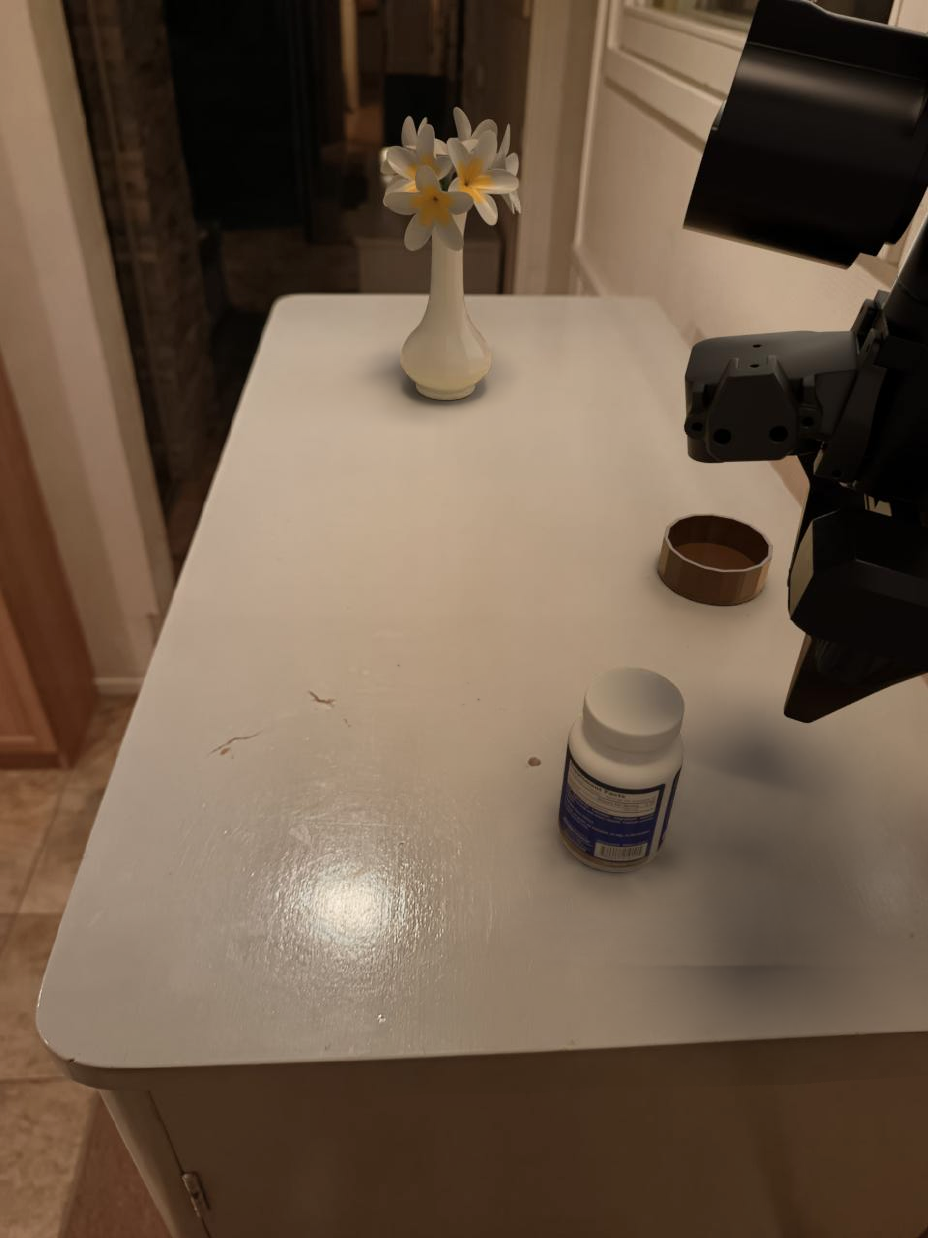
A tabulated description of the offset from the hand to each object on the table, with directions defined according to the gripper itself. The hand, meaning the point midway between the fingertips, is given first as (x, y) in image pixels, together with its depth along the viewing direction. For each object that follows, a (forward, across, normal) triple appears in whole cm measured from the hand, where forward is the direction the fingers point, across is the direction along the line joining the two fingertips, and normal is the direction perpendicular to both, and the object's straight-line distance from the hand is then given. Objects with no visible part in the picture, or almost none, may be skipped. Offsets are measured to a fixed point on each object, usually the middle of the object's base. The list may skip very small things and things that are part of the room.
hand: (796, 647), depth 39 cm
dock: (+14, -25, -1) cm, 28 cm away
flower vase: (+18, -50, -30) cm, 61 cm away
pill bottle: (+14, +2, -4) cm, 15 cm away
